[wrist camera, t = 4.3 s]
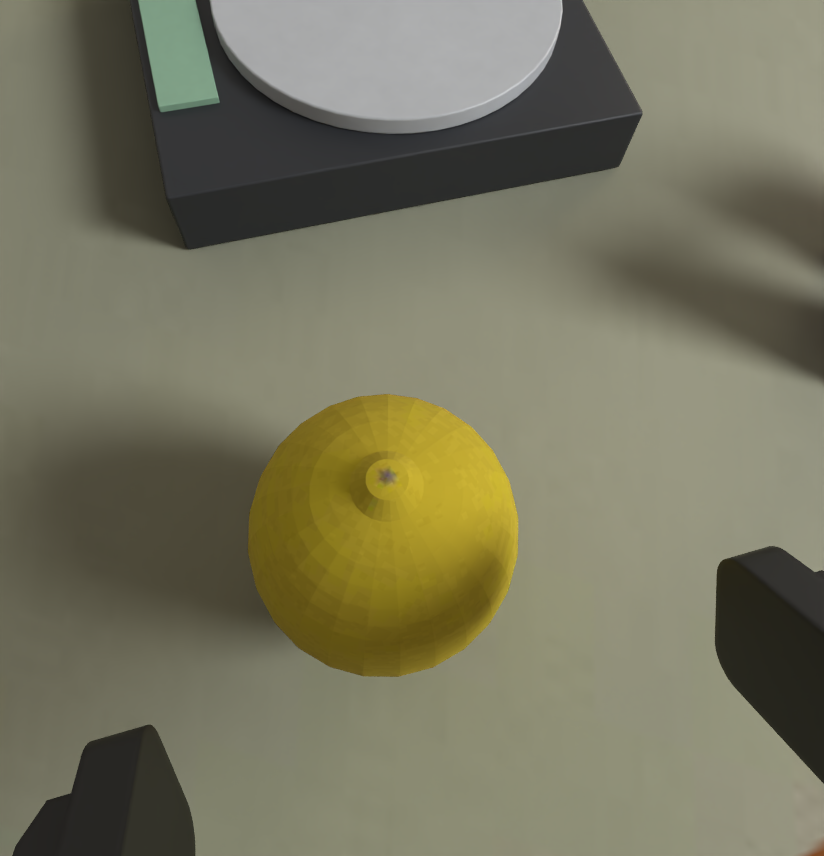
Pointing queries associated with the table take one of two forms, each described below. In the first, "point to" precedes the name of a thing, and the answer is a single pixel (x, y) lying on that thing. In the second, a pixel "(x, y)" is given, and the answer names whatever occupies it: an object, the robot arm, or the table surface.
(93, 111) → the table surface
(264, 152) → the scale
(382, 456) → the lemon
